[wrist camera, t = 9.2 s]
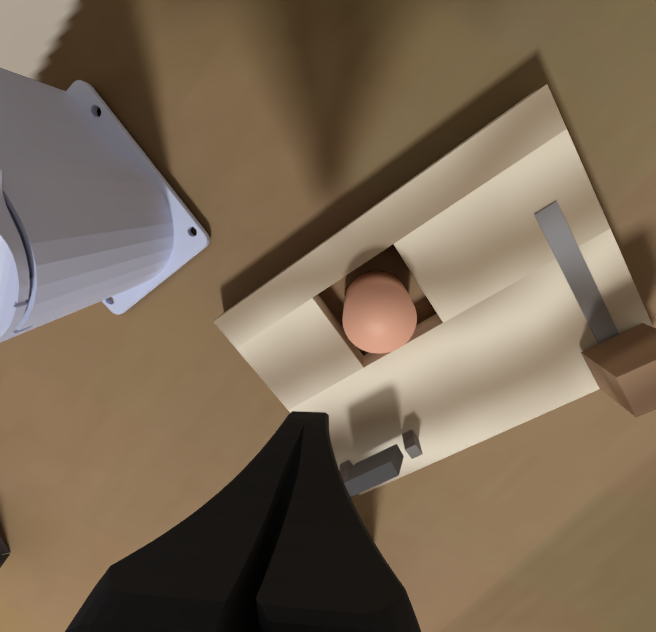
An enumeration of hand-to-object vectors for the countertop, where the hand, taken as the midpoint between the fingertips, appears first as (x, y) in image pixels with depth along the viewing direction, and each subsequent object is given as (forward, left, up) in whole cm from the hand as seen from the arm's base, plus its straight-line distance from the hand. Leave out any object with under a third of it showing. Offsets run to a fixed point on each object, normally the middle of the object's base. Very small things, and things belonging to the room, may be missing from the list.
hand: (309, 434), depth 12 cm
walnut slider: (+9, +13, -7) cm, 17 cm away
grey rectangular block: (+8, -1, -6) cm, 10 cm away
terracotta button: (0, +4, -9) cm, 9 cm away
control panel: (+3, +5, -9) cm, 10 cm away
